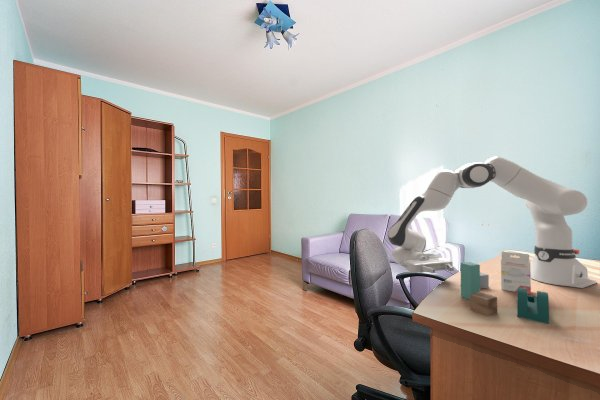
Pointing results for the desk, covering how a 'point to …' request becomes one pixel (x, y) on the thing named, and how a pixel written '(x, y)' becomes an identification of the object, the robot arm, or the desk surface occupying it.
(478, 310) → the walnut block
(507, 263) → the ink cartridge box
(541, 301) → the bracket
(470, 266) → the teal block
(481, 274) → the slate grey block
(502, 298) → the desk surface
